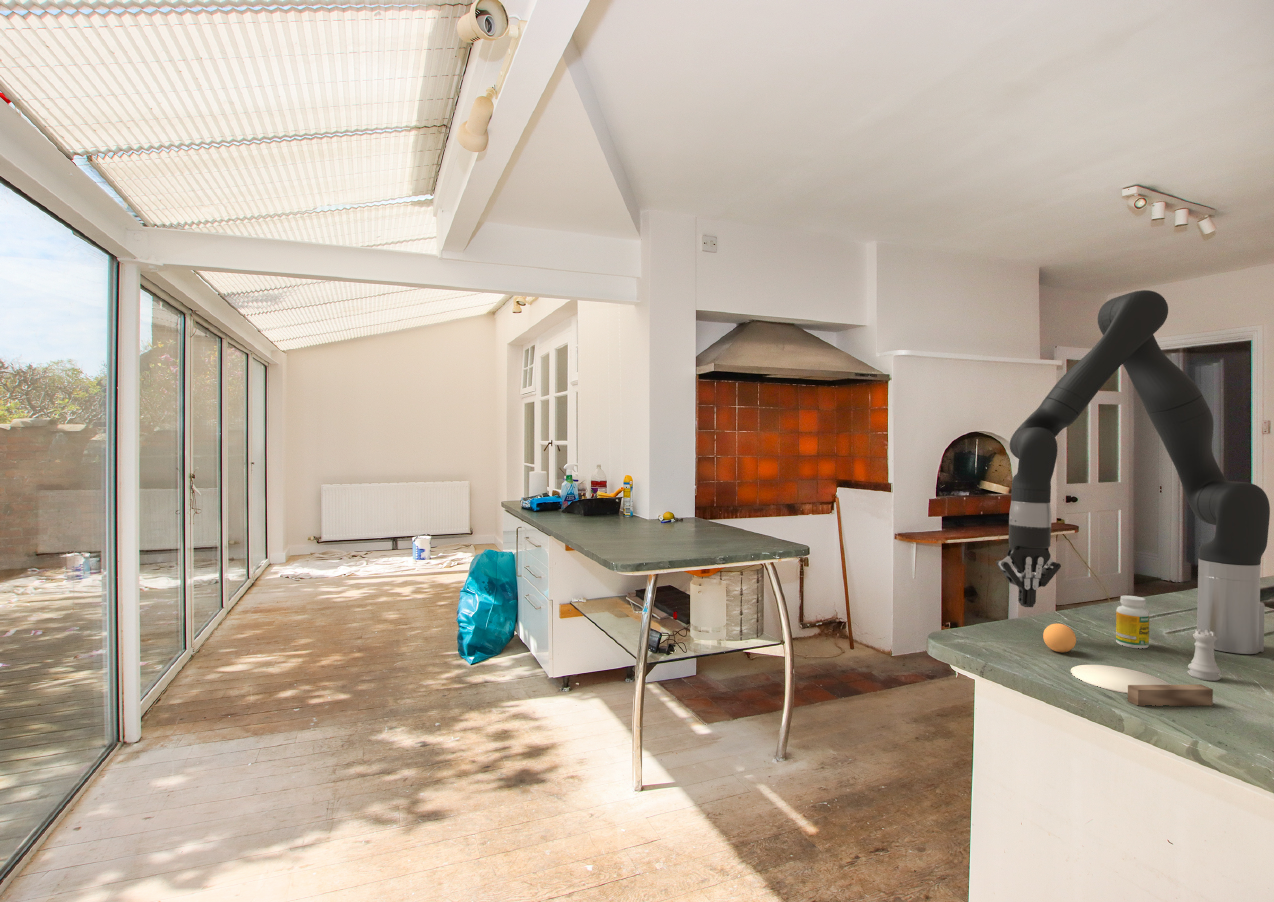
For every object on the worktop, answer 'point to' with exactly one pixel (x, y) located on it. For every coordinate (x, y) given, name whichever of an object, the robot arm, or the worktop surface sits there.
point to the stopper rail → (1170, 695)
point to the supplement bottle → (1132, 622)
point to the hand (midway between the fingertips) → (1026, 606)
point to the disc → (1113, 677)
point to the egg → (1059, 637)
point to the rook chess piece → (1204, 657)
